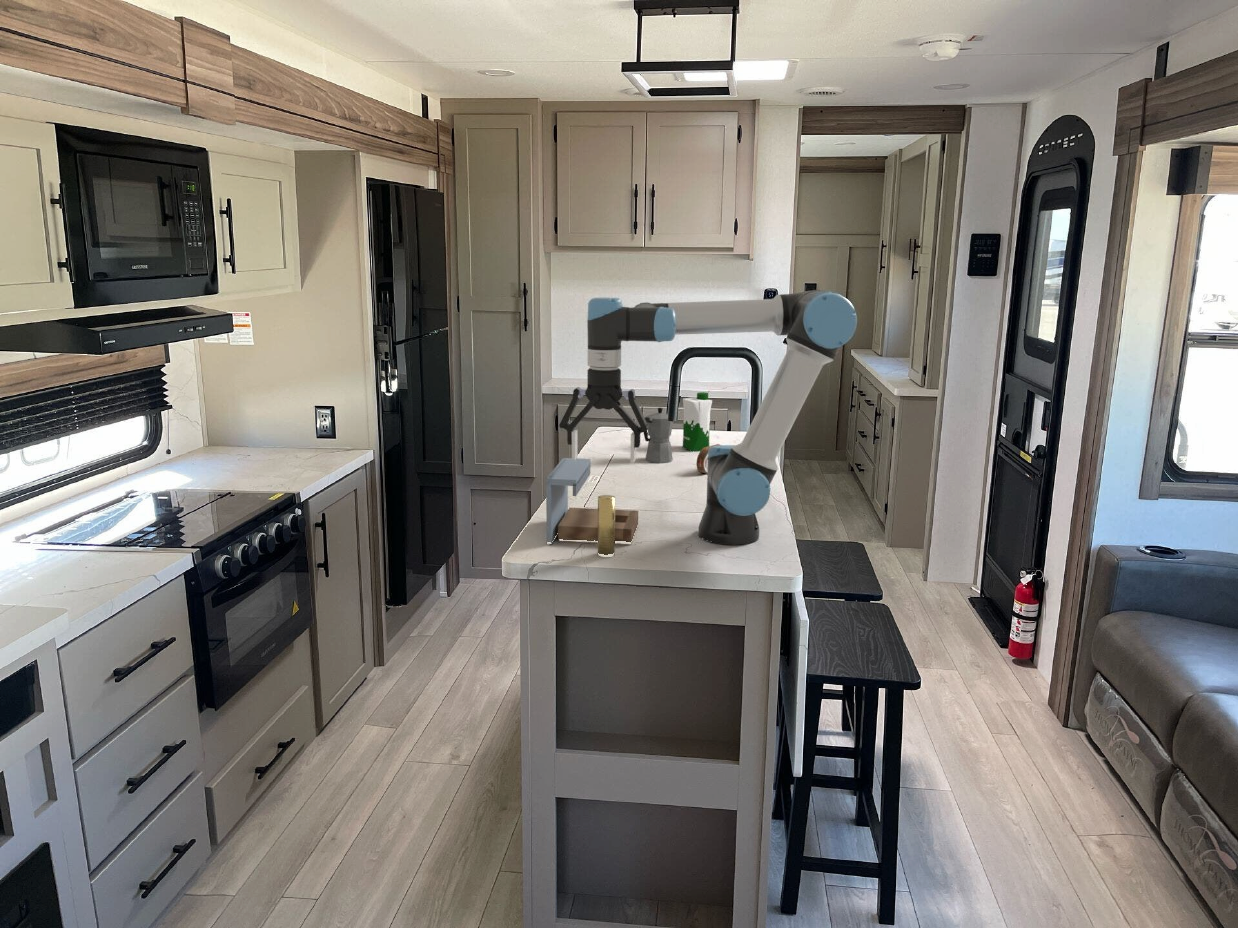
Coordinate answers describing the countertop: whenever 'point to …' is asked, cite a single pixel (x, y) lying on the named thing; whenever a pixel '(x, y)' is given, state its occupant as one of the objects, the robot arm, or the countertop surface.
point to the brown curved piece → (703, 460)
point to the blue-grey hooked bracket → (563, 490)
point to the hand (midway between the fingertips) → (603, 460)
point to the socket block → (596, 524)
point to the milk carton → (696, 422)
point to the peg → (606, 524)
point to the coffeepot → (658, 438)
